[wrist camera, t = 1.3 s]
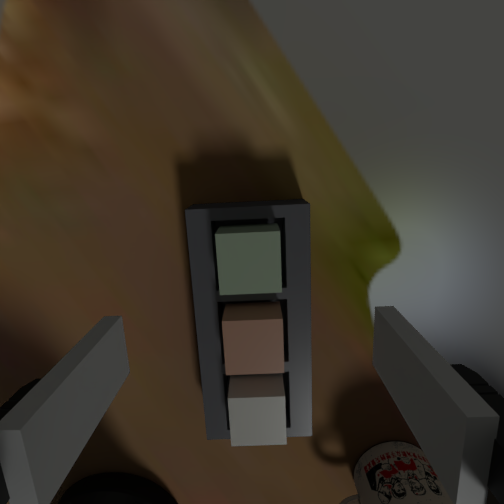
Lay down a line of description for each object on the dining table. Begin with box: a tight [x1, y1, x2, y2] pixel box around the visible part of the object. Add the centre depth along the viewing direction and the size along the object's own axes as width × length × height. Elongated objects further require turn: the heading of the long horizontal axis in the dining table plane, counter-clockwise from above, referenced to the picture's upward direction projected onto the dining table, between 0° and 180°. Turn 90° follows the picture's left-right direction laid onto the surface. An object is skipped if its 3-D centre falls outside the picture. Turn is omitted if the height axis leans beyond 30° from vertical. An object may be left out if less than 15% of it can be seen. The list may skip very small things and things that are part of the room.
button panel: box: [185, 199, 312, 440], centre depth 32 cm, size 10×22×4 cm, turn 3°
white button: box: [228, 373, 287, 446], centre depth 31 cm, size 5×5×4 cm
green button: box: [215, 223, 282, 295], centre depth 28 cm, size 5×5×4 cm
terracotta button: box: [222, 301, 284, 375], centre depth 29 cm, size 5×5×4 cm
